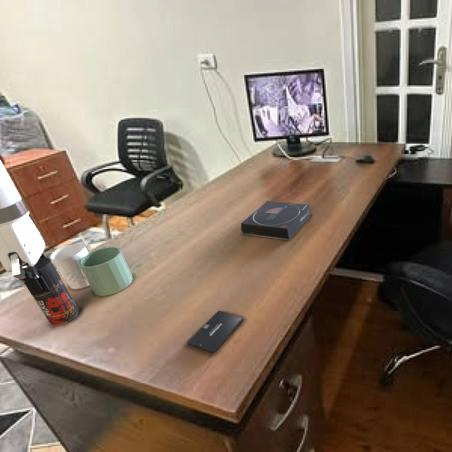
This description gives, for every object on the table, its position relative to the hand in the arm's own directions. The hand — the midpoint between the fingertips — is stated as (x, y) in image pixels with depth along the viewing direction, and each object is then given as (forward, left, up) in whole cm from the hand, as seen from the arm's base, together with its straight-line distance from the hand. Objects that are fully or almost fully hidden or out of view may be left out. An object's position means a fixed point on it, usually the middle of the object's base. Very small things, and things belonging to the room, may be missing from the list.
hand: (45, 283), depth 78 cm
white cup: (+2, +15, -10) cm, 18 cm away
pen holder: (+9, +9, -10) cm, 17 cm away
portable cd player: (+57, +17, -10) cm, 61 cm away
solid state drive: (+32, -23, -10) cm, 41 cm away
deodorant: (0, 0, -10) cm, 10 cm away
